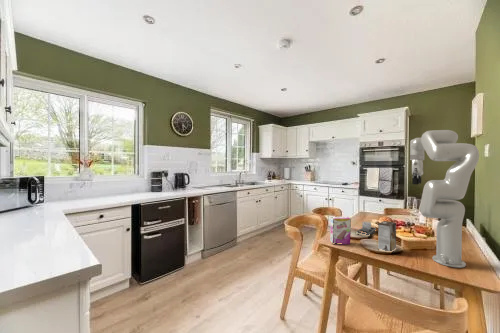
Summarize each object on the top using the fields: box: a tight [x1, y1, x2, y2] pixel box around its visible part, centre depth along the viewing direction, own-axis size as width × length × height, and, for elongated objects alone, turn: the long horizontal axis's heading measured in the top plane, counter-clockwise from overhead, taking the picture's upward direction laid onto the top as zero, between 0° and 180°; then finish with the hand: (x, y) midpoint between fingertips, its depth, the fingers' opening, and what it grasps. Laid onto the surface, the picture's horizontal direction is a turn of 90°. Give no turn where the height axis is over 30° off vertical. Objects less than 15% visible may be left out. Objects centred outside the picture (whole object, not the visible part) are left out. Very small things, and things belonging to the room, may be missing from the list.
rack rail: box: [357, 226, 377, 235], centre depth 161 cm, size 20×8×2 cm, turn 135°
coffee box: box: [377, 220, 397, 251], centre depth 128 cm, size 9×6×16 cm
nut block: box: [361, 221, 372, 232], centre depth 161 cm, size 4×4×8 cm
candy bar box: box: [329, 216, 352, 245], centre depth 140 cm, size 11×5×16 cm, turn 91°
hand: (416, 183), depth 148 cm, fingers open, 9 cm apart
